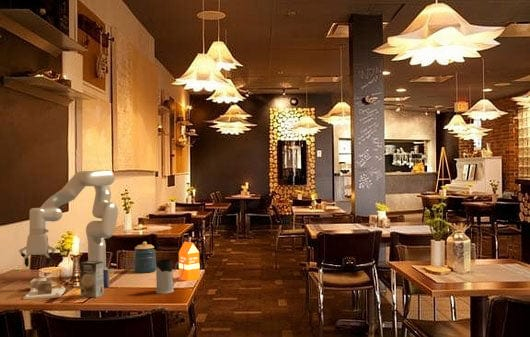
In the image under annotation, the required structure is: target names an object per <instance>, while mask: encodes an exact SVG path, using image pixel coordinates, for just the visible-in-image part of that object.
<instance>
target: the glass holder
mask: <svg viewBox="0 0 530 337" xmlns="http://www.w3.org/2000/svg"><path fill="white" fill-rule="evenodd" d="M179 263H182V262H179V261H178V262H176V263H175V266H174V267H175V268H174V270H173V260H172V259H168V258H167V259H157V260H156V271H155V272H156V273H155V274H156V279H155V280H156V291H155V293H156V294H159V295H160V294H170V293H174V292H175V290H174V286H175V284H176V283H177V282H179V280H181V279H180V278H181V277H182V275H183V272H184V264H183V272H182V275H181V276H180V278H179V277H178V279H176V280H175V281H174V275H173V274H174V272H176V270H177V265H179Z"/></svg>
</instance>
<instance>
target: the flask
mask: <svg viewBox="0 0 530 337" xmlns="http://www.w3.org/2000/svg"><path fill="white" fill-rule="evenodd" d="M109 270H110V269H109V268H107V269H103V280H104V288H109V287H110V285H111V284H110V273H109Z"/></svg>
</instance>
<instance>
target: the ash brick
mask: <svg viewBox="0 0 530 337" xmlns="http://www.w3.org/2000/svg"><path fill="white" fill-rule="evenodd" d="M39 281H47V278H46V277H39V278H33V279H31V281H30V282H29V284H30V285H29V286H30V287H29V288H30V291H31V290H32V289H35V290H38V287H37V284H38V282H39ZM30 291H29V292H30Z"/></svg>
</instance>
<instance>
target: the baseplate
mask: <svg viewBox="0 0 530 337" xmlns="http://www.w3.org/2000/svg"><path fill="white" fill-rule="evenodd" d="M65 291H66V288H65V286H61V287H60V288H59V287H58V288H52V293H51V294H42V295H38V290H35V289H32V290H31V291H29V292H28V293H26V294H25V295H24V296H23V298H22V299H23V300H37V299H53V298H56V299H57V298H60V297H61V296H62V295H63V294H64V293H65Z"/></svg>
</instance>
